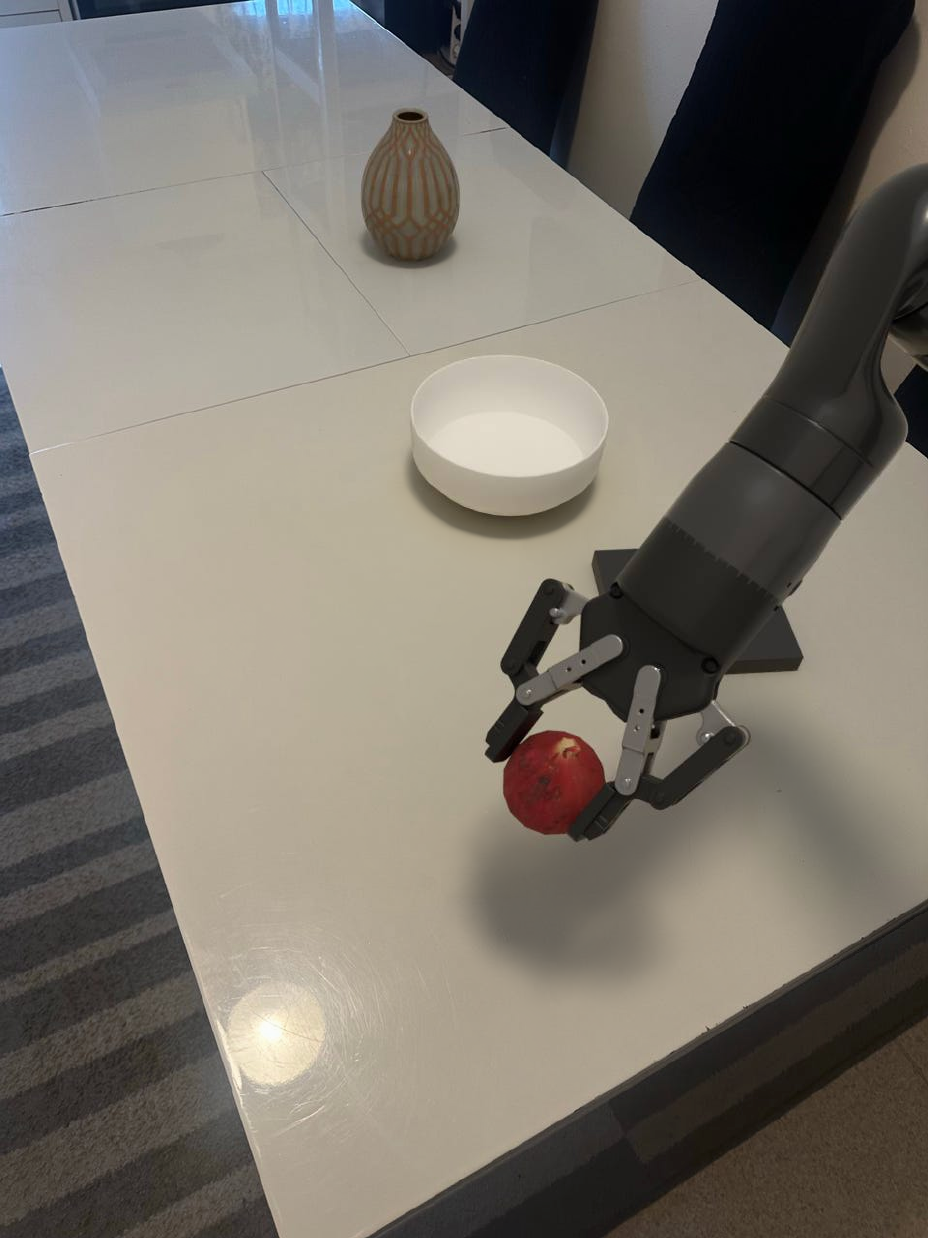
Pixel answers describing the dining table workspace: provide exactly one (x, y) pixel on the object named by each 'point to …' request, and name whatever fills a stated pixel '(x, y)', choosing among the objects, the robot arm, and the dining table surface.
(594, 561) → the scale
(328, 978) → the dining table surface
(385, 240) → the vase
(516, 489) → the bowl
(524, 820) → the pomegranate
